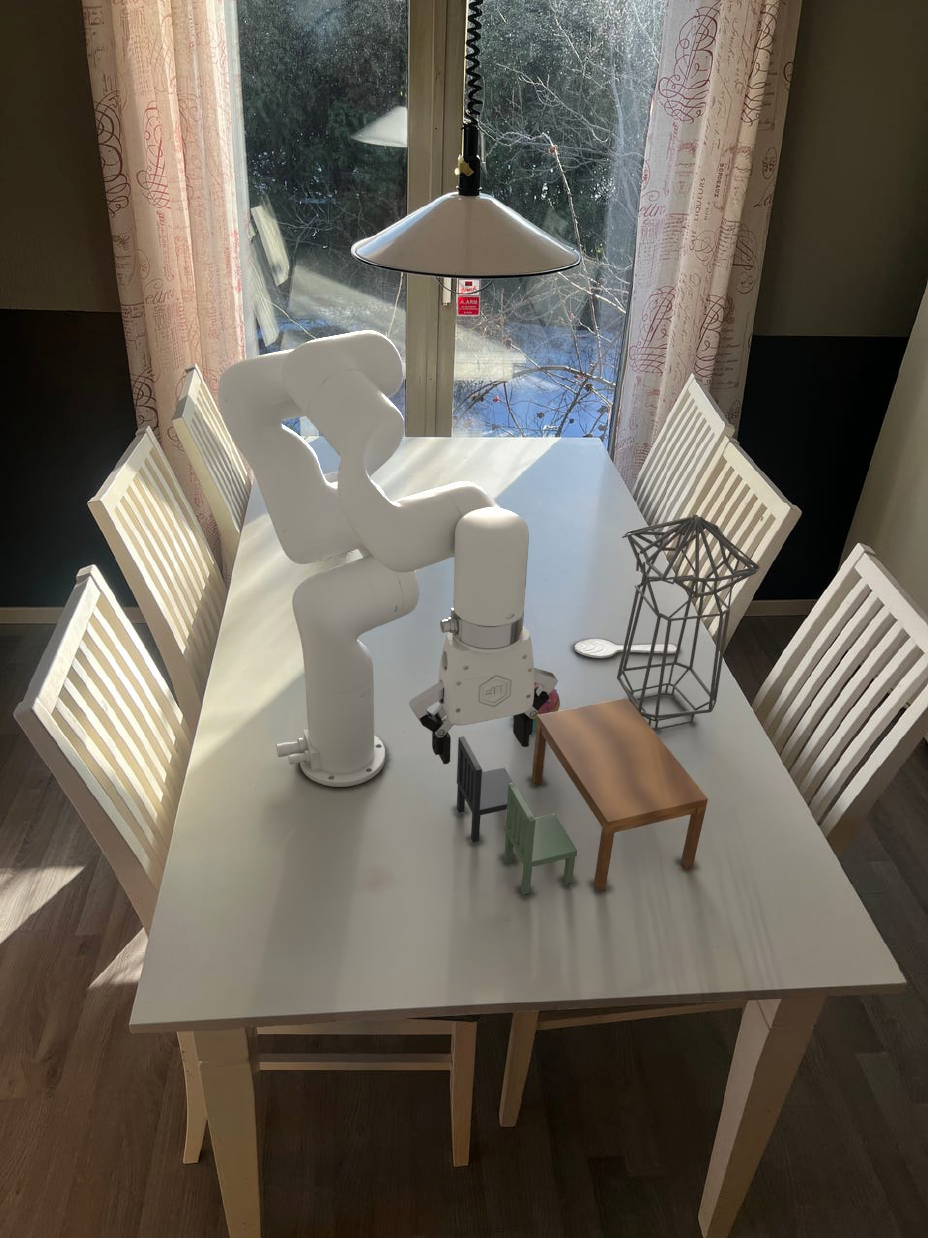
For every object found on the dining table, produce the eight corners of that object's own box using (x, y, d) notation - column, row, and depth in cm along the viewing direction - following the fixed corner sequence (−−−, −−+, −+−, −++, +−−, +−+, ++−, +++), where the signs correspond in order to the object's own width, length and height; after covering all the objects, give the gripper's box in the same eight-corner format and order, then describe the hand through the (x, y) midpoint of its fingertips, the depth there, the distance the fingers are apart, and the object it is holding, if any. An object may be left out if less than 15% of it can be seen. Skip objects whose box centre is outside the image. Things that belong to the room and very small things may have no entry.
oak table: (597, 891, 126) (607, 822, 120) (531, 780, 144) (537, 715, 137) (693, 866, 131) (708, 798, 124) (617, 761, 148) (627, 697, 142)
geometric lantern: (683, 679, 166) (719, 489, 148) (728, 737, 154) (773, 537, 135) (596, 691, 163) (622, 497, 144) (634, 752, 150) (668, 548, 131)
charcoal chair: (472, 843, 132) (476, 770, 126) (455, 808, 138) (458, 737, 131) (520, 832, 135) (527, 760, 128) (502, 798, 140) (507, 727, 133)
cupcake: (512, 743, 151) (517, 679, 144) (495, 710, 158) (500, 647, 151) (565, 735, 153) (572, 672, 146) (546, 702, 160) (552, 641, 153)
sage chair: (522, 896, 125) (529, 821, 118) (502, 856, 131) (508, 783, 124) (573, 883, 127) (583, 809, 120) (551, 845, 133) (559, 772, 126)
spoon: (679, 658, 172) (680, 655, 171) (576, 657, 171) (577, 655, 170) (673, 641, 176) (673, 638, 176) (572, 640, 175) (573, 638, 175)
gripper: (421, 655, 100) (420, 784, 109) (576, 627, 105) (563, 753, 114) (399, 618, 106) (401, 743, 115) (547, 593, 111) (537, 715, 120)
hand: (482, 748), depth 114 cm, fingers open, 9 cm apart
